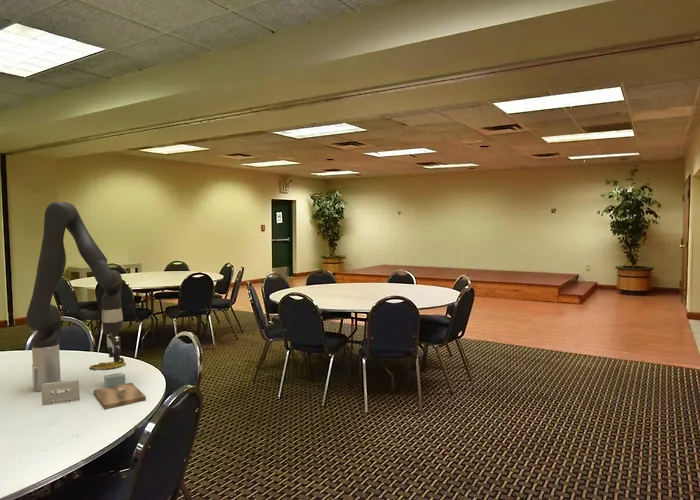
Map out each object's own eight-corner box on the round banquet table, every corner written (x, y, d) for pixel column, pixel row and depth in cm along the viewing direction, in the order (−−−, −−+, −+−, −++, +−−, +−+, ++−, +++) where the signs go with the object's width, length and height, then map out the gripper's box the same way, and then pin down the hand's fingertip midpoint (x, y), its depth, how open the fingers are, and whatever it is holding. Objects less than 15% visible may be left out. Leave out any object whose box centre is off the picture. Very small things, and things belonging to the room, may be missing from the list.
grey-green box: (107, 388, 193) (106, 377, 193) (104, 385, 197) (104, 374, 196) (125, 384, 197) (125, 374, 197) (122, 381, 201) (122, 371, 200)
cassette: (79, 399, 181) (79, 379, 181) (79, 400, 180) (78, 380, 179) (42, 404, 177) (41, 383, 176) (41, 405, 175) (40, 385, 175)
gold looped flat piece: (88, 375, 214) (125, 370, 220) (87, 365, 214) (125, 360, 220) (90, 367, 223) (126, 362, 229) (89, 357, 222) (125, 353, 228)
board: (104, 409, 171) (103, 397, 171) (93, 393, 187) (92, 383, 186) (145, 400, 179) (145, 388, 179) (131, 386, 195) (131, 375, 195)
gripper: (98, 318, 198) (100, 357, 199) (106, 323, 187) (108, 365, 188) (118, 316, 203) (120, 354, 204) (126, 321, 192) (128, 361, 193)
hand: (114, 359), depth 196 cm, fingers open, 8 cm apart
